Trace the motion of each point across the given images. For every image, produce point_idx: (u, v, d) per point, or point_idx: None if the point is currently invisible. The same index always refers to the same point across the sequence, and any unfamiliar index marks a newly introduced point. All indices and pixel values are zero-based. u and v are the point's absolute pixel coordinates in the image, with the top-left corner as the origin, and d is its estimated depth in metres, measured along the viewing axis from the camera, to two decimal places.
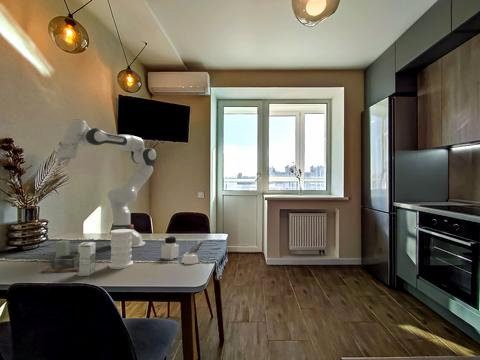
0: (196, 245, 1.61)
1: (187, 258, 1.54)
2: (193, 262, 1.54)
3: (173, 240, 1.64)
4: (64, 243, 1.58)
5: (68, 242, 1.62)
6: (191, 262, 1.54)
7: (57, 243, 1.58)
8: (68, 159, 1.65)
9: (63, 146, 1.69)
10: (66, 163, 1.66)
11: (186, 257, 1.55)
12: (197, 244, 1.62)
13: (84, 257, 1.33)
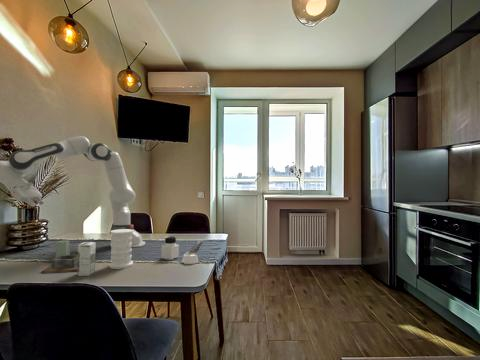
0: (196, 245, 1.61)
1: (187, 258, 1.54)
2: (193, 262, 1.55)
3: (173, 240, 1.64)
4: (64, 243, 1.58)
5: (68, 242, 1.62)
6: (191, 262, 1.54)
7: (57, 243, 1.58)
8: (27, 200, 1.51)
9: None
10: (31, 203, 1.53)
11: (186, 257, 1.55)
12: (197, 244, 1.62)
13: (84, 257, 1.33)
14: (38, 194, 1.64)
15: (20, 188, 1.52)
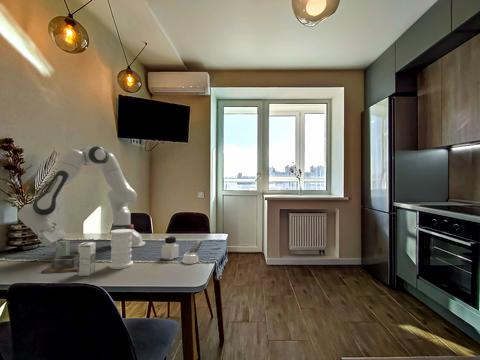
0: (196, 245, 1.62)
1: (188, 258, 1.55)
2: (194, 262, 1.55)
3: (173, 240, 1.64)
4: (64, 243, 1.58)
5: (68, 242, 1.62)
6: (192, 262, 1.55)
7: None
8: (55, 244, 1.55)
9: None
10: (59, 246, 1.56)
11: (187, 257, 1.55)
12: (197, 244, 1.63)
13: (84, 257, 1.33)
14: (63, 235, 1.66)
15: (46, 232, 1.54)
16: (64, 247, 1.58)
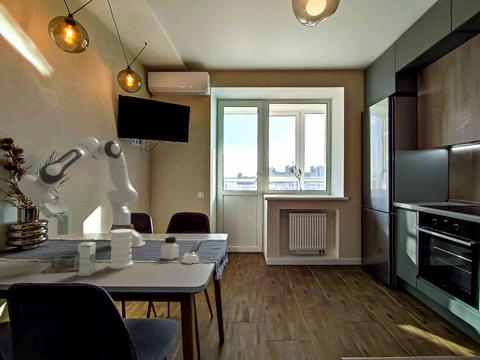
0: (196, 244, 1.63)
1: (188, 257, 1.55)
2: (194, 261, 1.56)
3: (173, 240, 1.64)
4: (66, 216, 1.49)
5: (70, 216, 1.53)
6: (192, 261, 1.55)
7: None
8: (56, 216, 1.46)
9: None
10: (61, 219, 1.48)
11: (187, 257, 1.56)
12: (197, 243, 1.64)
13: (84, 257, 1.33)
14: (65, 208, 1.57)
15: (48, 204, 1.45)
16: (66, 220, 1.49)
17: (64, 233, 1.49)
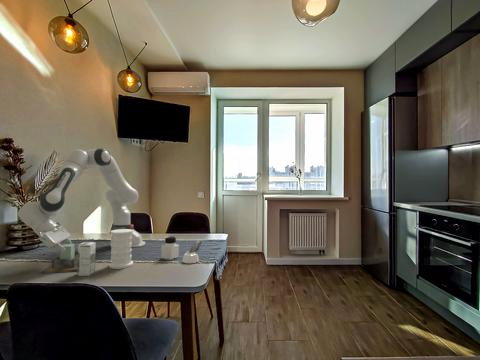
0: (196, 244, 1.63)
1: (189, 257, 1.56)
2: (195, 261, 1.56)
3: (173, 240, 1.64)
4: (69, 247, 1.44)
5: (73, 246, 1.48)
6: (193, 261, 1.56)
7: None
8: (57, 246, 1.40)
9: None
10: (62, 249, 1.41)
11: (187, 256, 1.56)
12: (197, 243, 1.64)
13: (84, 257, 1.33)
14: (67, 235, 1.52)
15: (49, 232, 1.40)
16: (69, 252, 1.44)
17: None
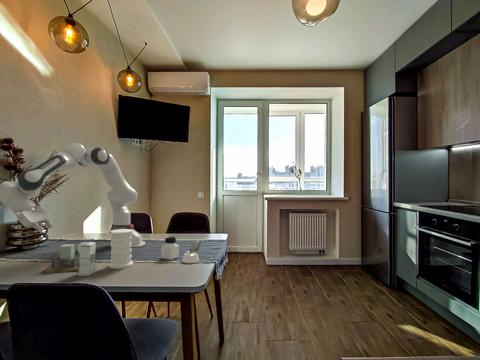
0: (196, 244, 1.64)
1: (189, 257, 1.56)
2: (195, 261, 1.57)
3: (173, 240, 1.64)
4: (69, 247, 1.44)
5: (73, 246, 1.48)
6: (193, 261, 1.56)
7: (61, 247, 1.44)
8: (34, 225, 1.38)
9: None
10: (39, 228, 1.39)
11: (188, 256, 1.56)
12: (197, 243, 1.64)
13: (84, 257, 1.33)
14: (46, 216, 1.50)
15: (27, 212, 1.38)
16: (69, 252, 1.44)
17: None
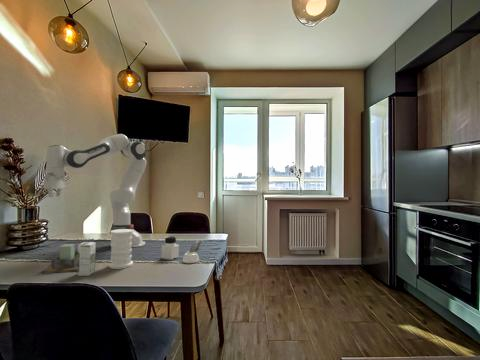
0: (196, 244, 1.64)
1: (189, 257, 1.56)
2: (195, 261, 1.57)
3: (173, 240, 1.64)
4: (69, 247, 1.44)
5: (73, 246, 1.48)
6: (193, 261, 1.56)
7: (61, 247, 1.44)
8: (49, 190, 1.62)
9: None
10: (50, 194, 1.63)
11: (188, 256, 1.57)
12: (197, 243, 1.65)
13: (84, 257, 1.33)
14: (62, 186, 1.74)
15: (54, 177, 1.63)
16: (69, 252, 1.44)
17: None
